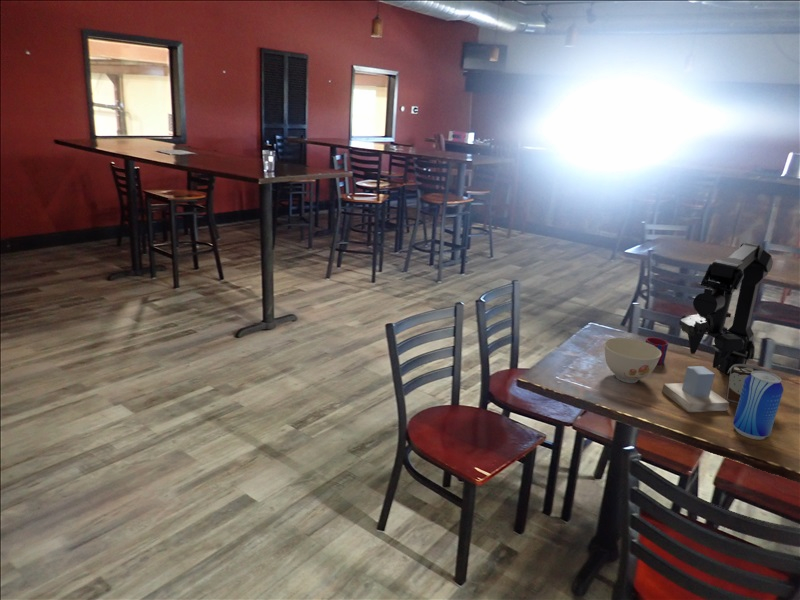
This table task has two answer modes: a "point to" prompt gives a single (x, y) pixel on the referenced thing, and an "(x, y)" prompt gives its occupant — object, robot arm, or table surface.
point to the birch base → (694, 399)
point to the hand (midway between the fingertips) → (703, 360)
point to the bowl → (630, 358)
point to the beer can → (758, 405)
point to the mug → (659, 347)
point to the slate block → (698, 381)
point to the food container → (739, 379)
